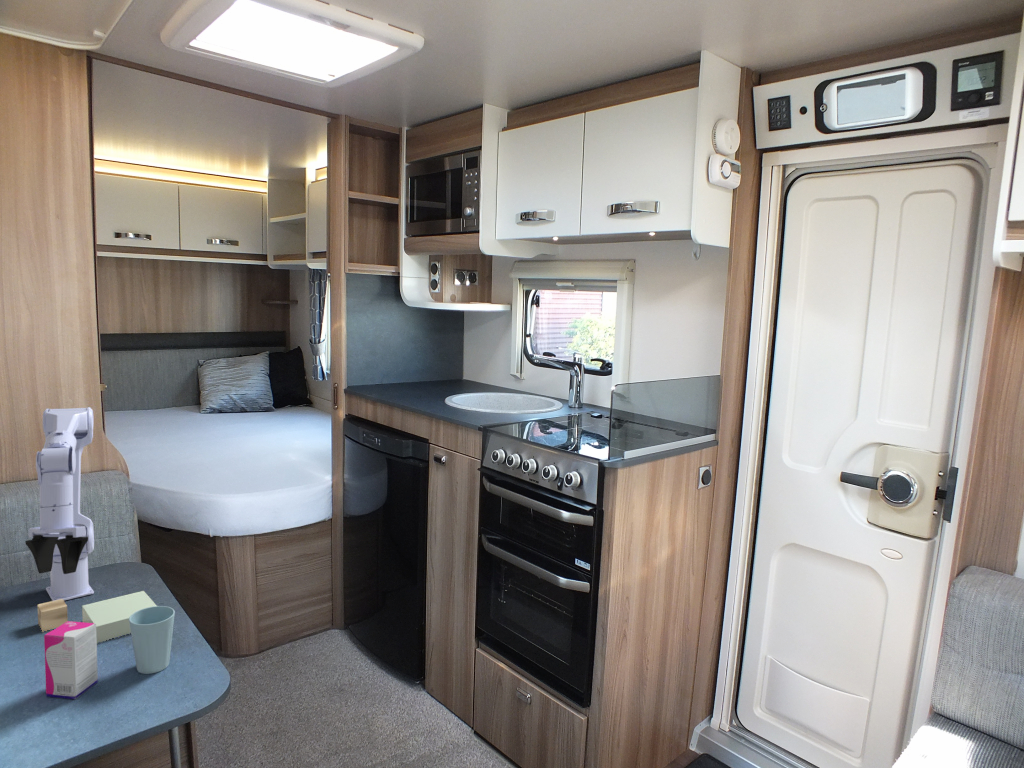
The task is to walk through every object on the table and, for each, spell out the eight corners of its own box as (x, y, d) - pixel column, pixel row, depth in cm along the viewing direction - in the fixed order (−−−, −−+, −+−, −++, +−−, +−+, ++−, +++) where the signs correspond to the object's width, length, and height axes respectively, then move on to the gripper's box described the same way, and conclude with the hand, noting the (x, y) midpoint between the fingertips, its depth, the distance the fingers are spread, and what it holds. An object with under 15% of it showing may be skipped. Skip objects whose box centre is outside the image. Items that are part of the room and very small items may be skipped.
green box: (82, 623, 143) (82, 605, 143) (143, 607, 151) (143, 590, 151) (96, 645, 135) (96, 626, 134) (160, 627, 143) (160, 609, 142)
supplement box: (99, 681, 122) (97, 622, 120) (75, 700, 116) (72, 638, 114) (70, 678, 122) (67, 619, 121) (44, 697, 116) (41, 635, 115)
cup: (158, 679, 123) (157, 626, 122) (120, 675, 124) (119, 622, 123) (183, 658, 131) (183, 608, 129) (147, 654, 132) (146, 604, 130)
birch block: (38, 624, 141) (37, 604, 141) (63, 618, 144) (62, 598, 144) (42, 632, 138) (41, 612, 137) (67, 626, 141) (67, 606, 140)
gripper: (13, 508, 136) (13, 576, 135) (60, 507, 131) (61, 577, 129) (48, 504, 142) (49, 568, 141) (94, 503, 137) (95, 570, 136)
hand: (57, 572), depth 136 cm, fingers open, 7 cm apart
